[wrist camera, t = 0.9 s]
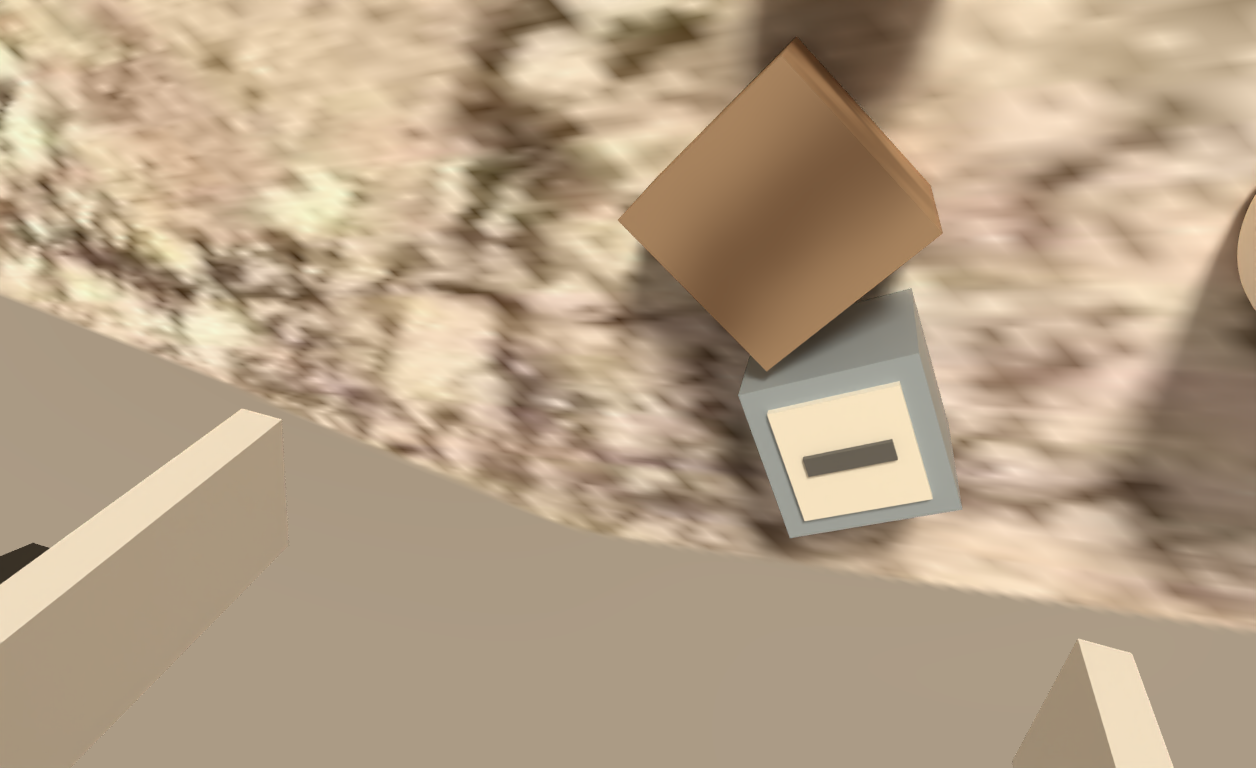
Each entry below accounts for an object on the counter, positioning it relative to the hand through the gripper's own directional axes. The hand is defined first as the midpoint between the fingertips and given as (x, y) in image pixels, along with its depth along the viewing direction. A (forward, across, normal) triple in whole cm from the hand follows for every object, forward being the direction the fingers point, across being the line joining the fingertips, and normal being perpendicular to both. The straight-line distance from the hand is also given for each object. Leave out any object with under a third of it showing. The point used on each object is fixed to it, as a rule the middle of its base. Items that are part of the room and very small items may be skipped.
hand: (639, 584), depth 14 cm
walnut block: (+21, 0, +2) cm, 21 cm away
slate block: (+21, +4, -5) cm, 23 cm away
